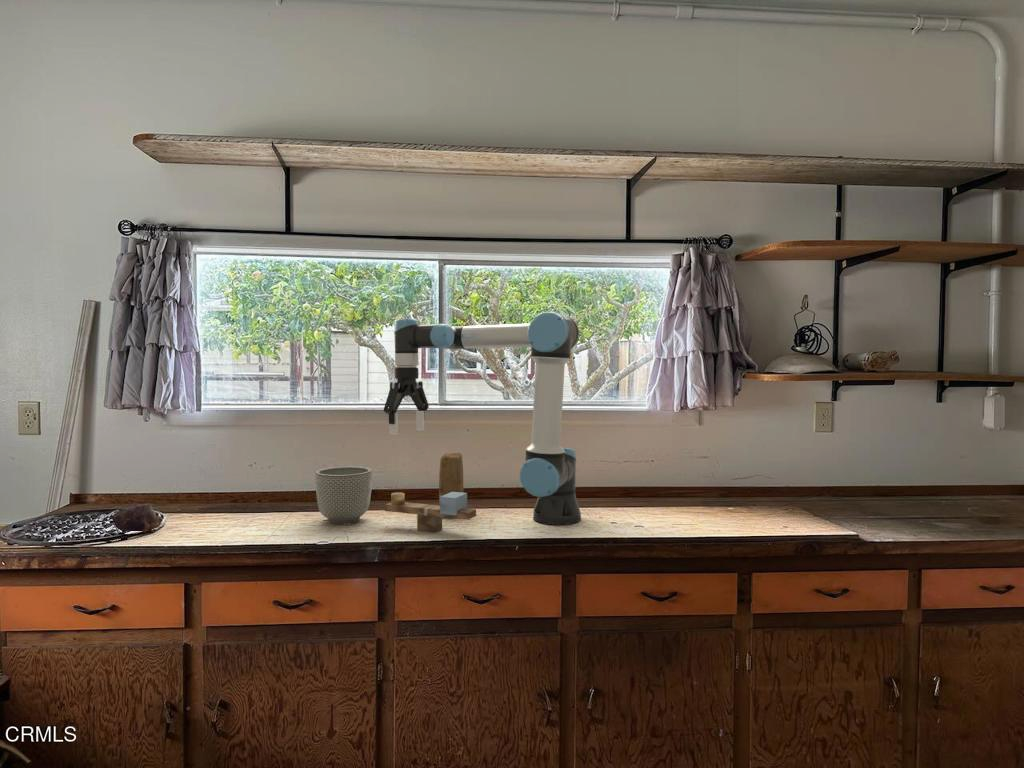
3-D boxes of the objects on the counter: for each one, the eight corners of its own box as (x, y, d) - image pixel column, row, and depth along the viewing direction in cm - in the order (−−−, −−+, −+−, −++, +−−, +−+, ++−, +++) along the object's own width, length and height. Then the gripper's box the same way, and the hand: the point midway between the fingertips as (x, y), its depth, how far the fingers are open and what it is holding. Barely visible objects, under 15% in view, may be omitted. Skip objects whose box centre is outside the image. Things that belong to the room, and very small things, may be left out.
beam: (476, 532, 185) (476, 498, 184) (468, 537, 180) (468, 502, 180) (394, 523, 195) (393, 491, 195) (384, 527, 190) (384, 494, 190)
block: (460, 518, 201) (460, 456, 201) (437, 518, 202) (437, 456, 201) (465, 510, 212) (465, 451, 212) (443, 510, 213) (443, 451, 212)
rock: (127, 533, 188) (106, 542, 178) (123, 505, 188) (101, 512, 177) (166, 527, 188) (147, 535, 178) (162, 499, 188) (143, 505, 178)
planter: (304, 521, 197) (304, 470, 197) (352, 512, 210) (352, 464, 209) (334, 531, 185) (334, 477, 185) (383, 521, 198) (383, 470, 198)
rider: (467, 509, 187) (467, 493, 187) (455, 515, 180) (455, 498, 180) (452, 508, 189) (452, 491, 189) (440, 513, 182) (440, 496, 182)
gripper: (420, 366, 216) (421, 428, 217) (371, 367, 194) (372, 435, 195) (438, 366, 213) (439, 429, 213) (390, 366, 191) (391, 436, 191)
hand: (407, 432), depth 204 cm, fingers open, 13 cm apart
